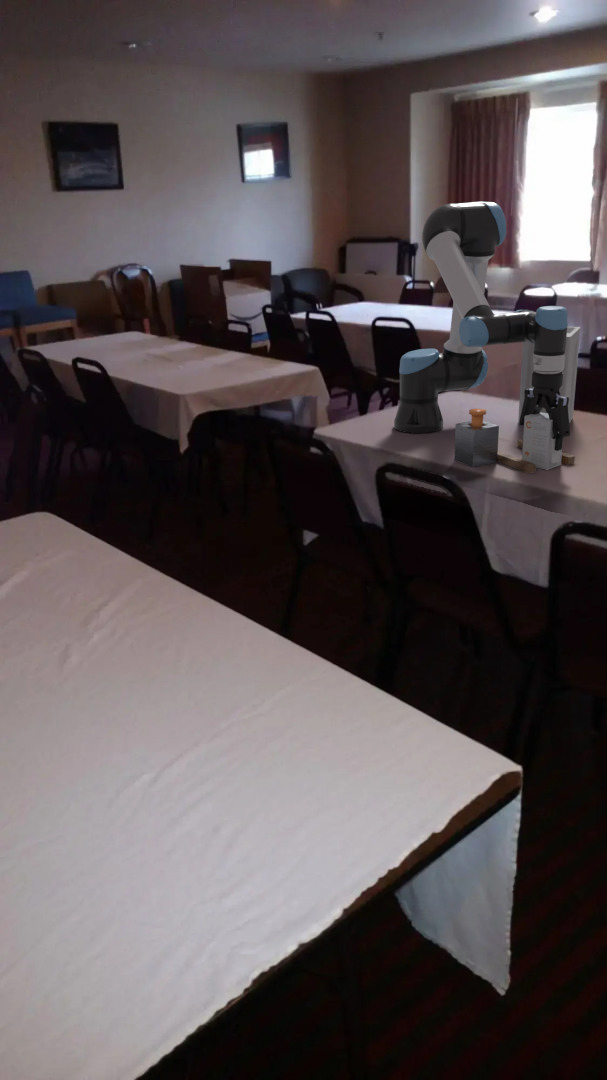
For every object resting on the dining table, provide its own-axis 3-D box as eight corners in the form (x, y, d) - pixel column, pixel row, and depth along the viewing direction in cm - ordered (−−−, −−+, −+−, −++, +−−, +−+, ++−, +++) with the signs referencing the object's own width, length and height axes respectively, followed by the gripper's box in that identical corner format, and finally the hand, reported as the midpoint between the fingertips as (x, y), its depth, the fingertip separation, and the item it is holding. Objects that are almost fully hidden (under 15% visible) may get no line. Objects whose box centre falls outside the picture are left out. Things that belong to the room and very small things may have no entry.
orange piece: (464, 435, 214) (465, 410, 211) (478, 432, 216) (479, 407, 213) (475, 438, 210) (476, 413, 208) (488, 436, 212) (489, 410, 209)
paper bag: (525, 415, 258) (530, 326, 247) (573, 418, 252) (580, 326, 241) (511, 430, 242) (517, 335, 232) (562, 433, 236) (570, 336, 225)
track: (479, 454, 221) (480, 447, 220) (523, 445, 226) (523, 439, 226) (528, 473, 204) (529, 466, 203) (574, 463, 210) (574, 456, 209)
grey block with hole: (454, 459, 217) (455, 423, 213) (478, 454, 220) (479, 419, 217) (472, 467, 211) (474, 430, 207) (497, 462, 214) (498, 425, 210)
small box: (561, 465, 209) (565, 416, 204) (546, 470, 205) (550, 420, 200) (535, 458, 215) (538, 411, 210) (520, 464, 211) (523, 415, 206)
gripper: (507, 366, 208) (503, 450, 217) (567, 379, 190) (559, 470, 199) (530, 362, 211) (525, 445, 220) (591, 375, 193) (582, 465, 202)
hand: (541, 457), depth 209 cm, fingers closed on small box, 9 cm apart
